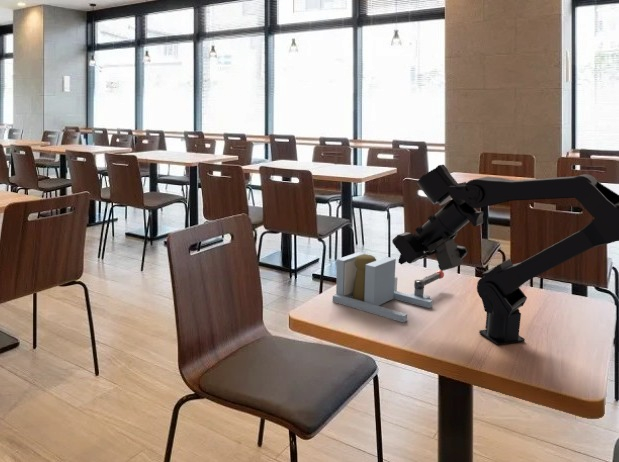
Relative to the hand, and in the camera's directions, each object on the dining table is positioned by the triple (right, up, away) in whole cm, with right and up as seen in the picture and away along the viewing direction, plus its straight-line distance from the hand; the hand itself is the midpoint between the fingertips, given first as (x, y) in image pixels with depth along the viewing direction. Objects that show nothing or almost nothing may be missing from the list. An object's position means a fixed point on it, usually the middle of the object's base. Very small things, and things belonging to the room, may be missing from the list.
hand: (400, 262), depth 122 cm
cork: (-7, -10, +8) cm, 15 cm away
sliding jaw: (-4, -10, +6) cm, 12 cm away
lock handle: (+9, -6, +12) cm, 17 cm away
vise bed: (-2, -10, +7) cm, 12 cm away
